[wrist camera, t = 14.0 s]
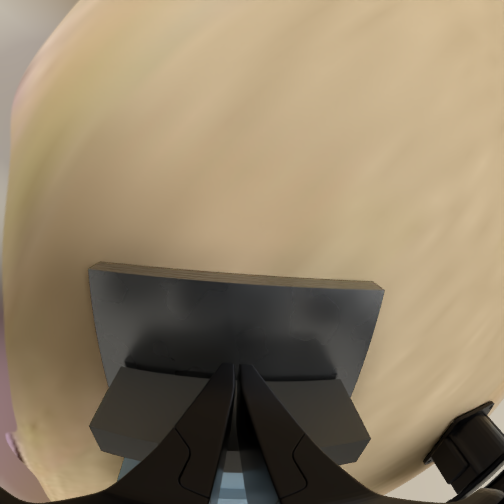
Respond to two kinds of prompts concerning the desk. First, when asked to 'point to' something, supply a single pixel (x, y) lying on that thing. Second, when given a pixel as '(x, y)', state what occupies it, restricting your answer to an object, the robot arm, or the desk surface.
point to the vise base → (232, 323)
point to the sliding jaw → (186, 390)
